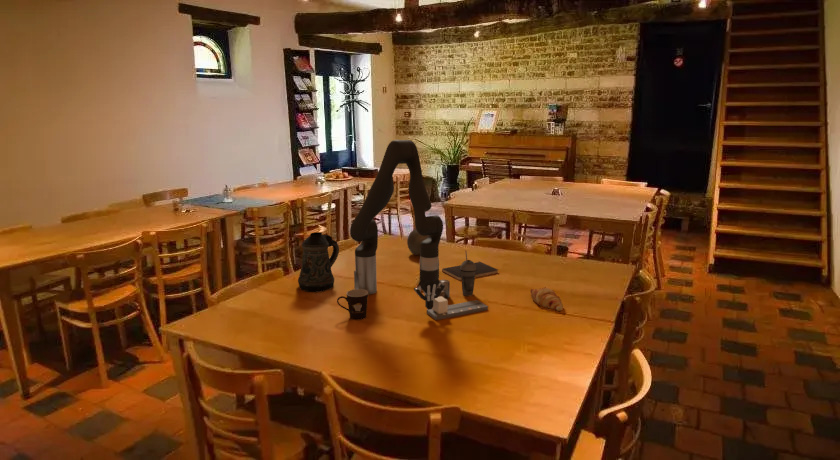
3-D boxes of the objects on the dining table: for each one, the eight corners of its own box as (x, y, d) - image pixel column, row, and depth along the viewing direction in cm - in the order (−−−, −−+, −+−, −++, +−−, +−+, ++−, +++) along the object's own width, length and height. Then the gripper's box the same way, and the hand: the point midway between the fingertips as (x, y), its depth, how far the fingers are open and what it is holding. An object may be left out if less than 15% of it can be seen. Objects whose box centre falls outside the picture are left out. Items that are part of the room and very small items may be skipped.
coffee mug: (372, 314, 212) (372, 290, 209) (363, 322, 204) (362, 298, 201) (346, 310, 215) (345, 287, 213) (336, 318, 207) (335, 294, 205)
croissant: (566, 319, 215) (575, 302, 215) (549, 312, 210) (558, 294, 210) (535, 300, 234) (543, 284, 233) (519, 293, 229) (527, 277, 229)
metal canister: (441, 299, 227) (441, 284, 225) (436, 295, 231) (436, 280, 230) (451, 297, 229) (451, 282, 227) (445, 294, 233) (446, 279, 232)
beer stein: (291, 289, 239) (287, 236, 233) (314, 276, 257) (312, 226, 251) (322, 294, 233) (319, 239, 227) (344, 280, 251) (342, 229, 245)
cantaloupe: (405, 258, 287) (404, 231, 283) (409, 250, 300) (409, 225, 297) (430, 259, 284) (430, 232, 281) (434, 252, 298) (434, 226, 294)
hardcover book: (498, 274, 262) (498, 269, 261) (459, 281, 251) (459, 277, 250) (479, 265, 275) (479, 261, 275) (442, 272, 264) (442, 268, 264)
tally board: (435, 320, 205) (435, 316, 205) (426, 313, 212) (426, 309, 212) (487, 309, 216) (487, 306, 215) (477, 303, 223) (477, 299, 222)
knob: (438, 314, 207) (438, 302, 206) (432, 309, 212) (432, 297, 210) (447, 312, 209) (447, 300, 208) (441, 307, 213) (441, 296, 212)
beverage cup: (475, 297, 229) (476, 253, 224) (458, 296, 230) (459, 252, 226) (476, 291, 236) (477, 248, 231) (460, 290, 237) (461, 248, 233)
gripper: (439, 262, 210) (439, 302, 214) (409, 266, 204) (410, 308, 208) (449, 267, 203) (448, 309, 207) (418, 272, 197) (418, 315, 202)
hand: (429, 308), depth 208 cm, fingers closed
